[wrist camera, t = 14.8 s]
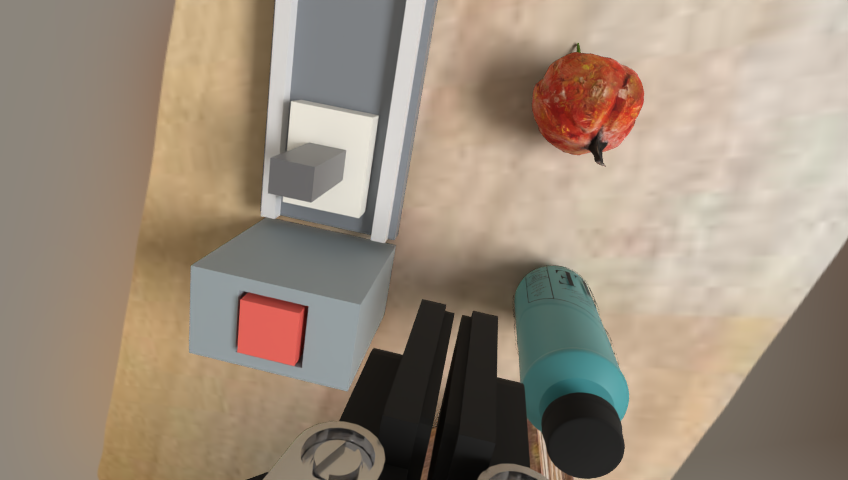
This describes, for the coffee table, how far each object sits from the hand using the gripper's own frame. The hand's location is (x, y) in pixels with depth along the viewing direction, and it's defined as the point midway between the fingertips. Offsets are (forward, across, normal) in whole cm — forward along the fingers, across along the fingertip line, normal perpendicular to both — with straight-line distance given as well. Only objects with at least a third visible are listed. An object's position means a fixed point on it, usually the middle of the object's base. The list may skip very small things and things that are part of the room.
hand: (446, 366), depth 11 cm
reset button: (+24, +12, +14) cm, 30 cm away
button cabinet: (+32, +12, +14) cm, 37 cm away
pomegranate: (+32, -6, -5) cm, 33 cm away
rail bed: (+32, +12, -2) cm, 34 cm away
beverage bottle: (+32, -8, +11) cm, 35 cm away
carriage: (+30, +12, +3) cm, 33 cm away
